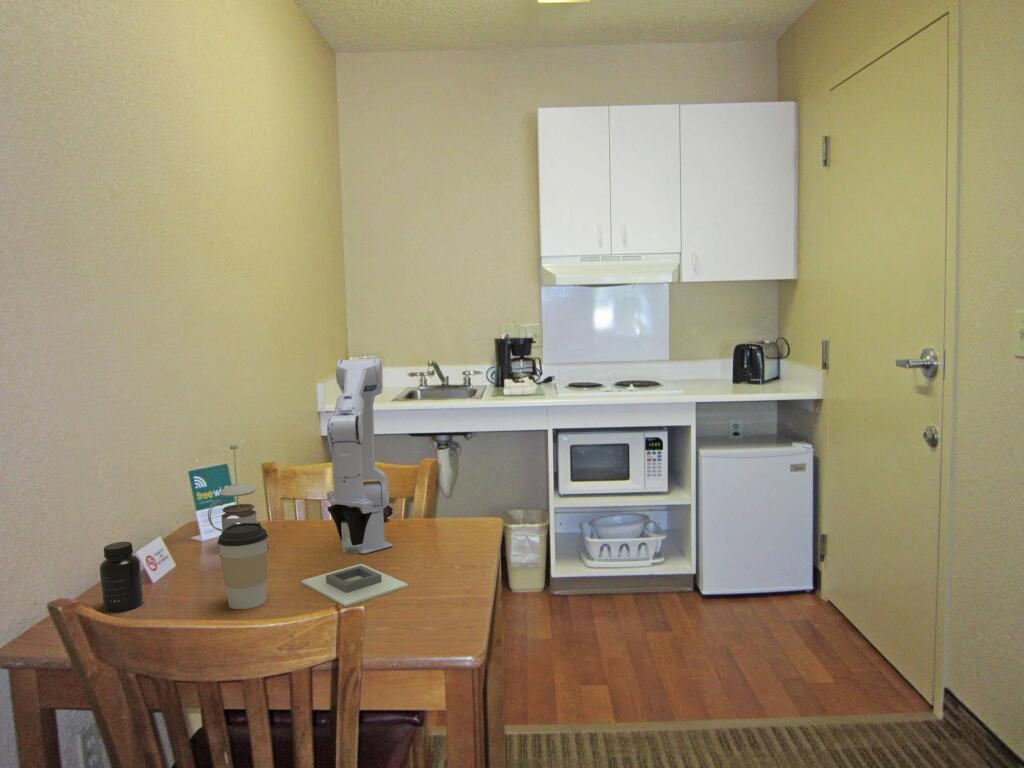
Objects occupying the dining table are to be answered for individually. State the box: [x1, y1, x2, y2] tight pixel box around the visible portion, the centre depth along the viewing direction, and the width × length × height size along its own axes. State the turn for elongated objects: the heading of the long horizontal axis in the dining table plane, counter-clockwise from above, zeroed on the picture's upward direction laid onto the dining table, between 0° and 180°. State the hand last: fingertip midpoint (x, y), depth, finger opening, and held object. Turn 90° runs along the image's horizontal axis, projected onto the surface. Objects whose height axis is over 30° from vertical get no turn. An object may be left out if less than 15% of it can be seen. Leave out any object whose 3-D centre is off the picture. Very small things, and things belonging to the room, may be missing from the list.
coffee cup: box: [217, 522, 269, 611], centre depth 142 cm, size 9×9×15 cm
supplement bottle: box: [99, 541, 144, 613], centre depth 142 cm, size 7×7×12 cm
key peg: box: [341, 519, 363, 554], centre depth 149 cm, size 4×4×6 cm
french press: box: [207, 443, 258, 534], centre depth 175 cm, size 10×12×25 cm
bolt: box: [383, 504, 394, 523], centre depth 193 cm, size 6×5×15 cm
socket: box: [300, 563, 409, 608], centre depth 150 cm, size 18×14×2 cm
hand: (351, 541), depth 149 cm, fingers closed on key peg, 4 cm apart
